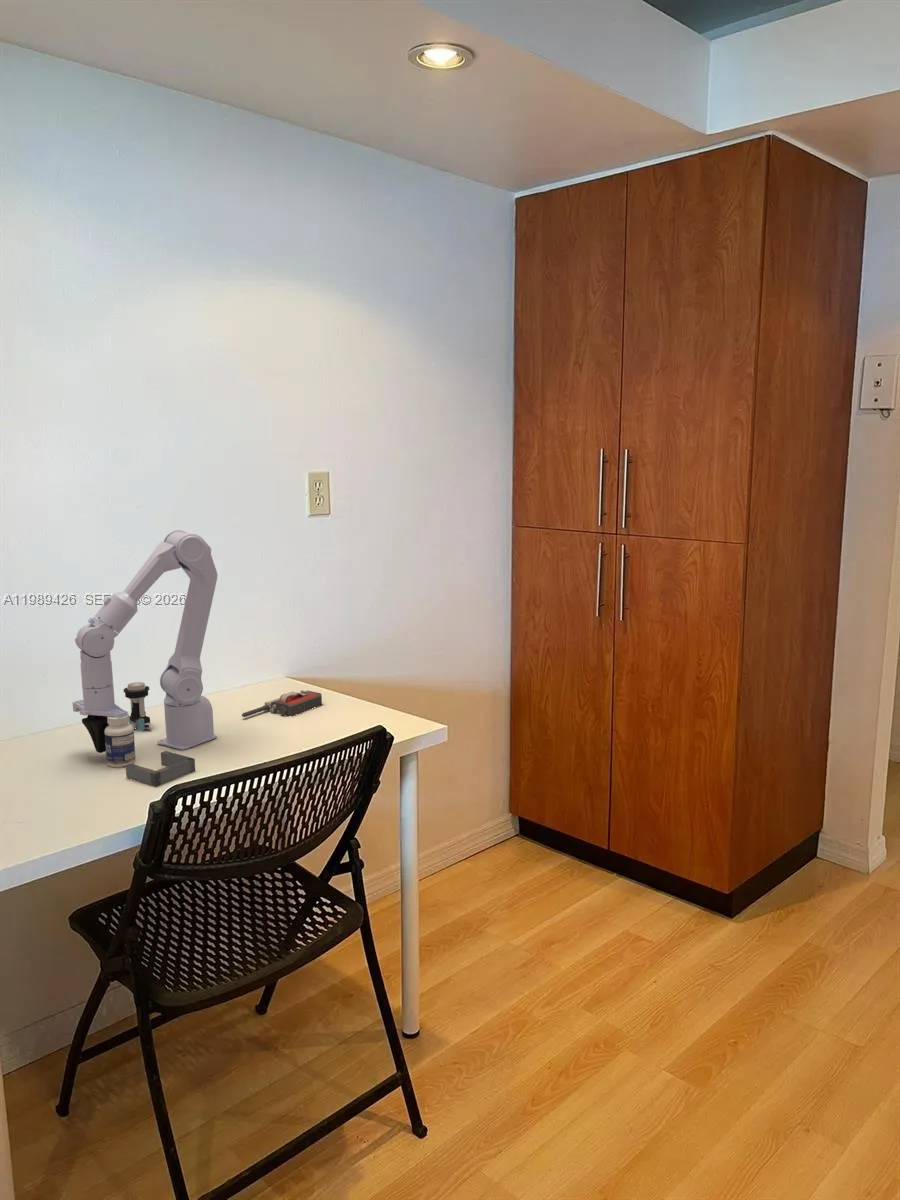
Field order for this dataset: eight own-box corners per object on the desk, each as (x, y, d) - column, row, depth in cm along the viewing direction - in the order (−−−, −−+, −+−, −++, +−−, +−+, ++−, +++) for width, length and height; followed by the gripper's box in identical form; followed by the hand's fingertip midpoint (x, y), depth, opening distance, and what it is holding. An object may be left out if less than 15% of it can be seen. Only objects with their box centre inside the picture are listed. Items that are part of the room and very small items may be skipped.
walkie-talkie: (300, 699, 221) (239, 720, 204) (300, 681, 220) (238, 701, 203) (327, 705, 216) (267, 727, 199) (327, 687, 215) (266, 707, 199)
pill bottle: (106, 760, 178) (103, 713, 176) (135, 756, 180) (132, 710, 178) (106, 769, 173) (103, 721, 172) (136, 766, 175) (133, 718, 173)
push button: (161, 728, 198) (158, 684, 196) (141, 734, 193) (138, 689, 192) (141, 723, 201) (138, 679, 200) (121, 729, 197) (117, 685, 195)
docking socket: (166, 763, 177) (165, 750, 176) (195, 771, 172) (194, 758, 172) (126, 778, 169) (125, 765, 168) (155, 787, 164) (154, 774, 164)
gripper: (57, 684, 177) (62, 750, 180) (103, 695, 170) (109, 763, 172) (88, 676, 183) (93, 740, 186) (134, 686, 176) (139, 753, 178)
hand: (102, 750), depth 179 cm, fingers closed
